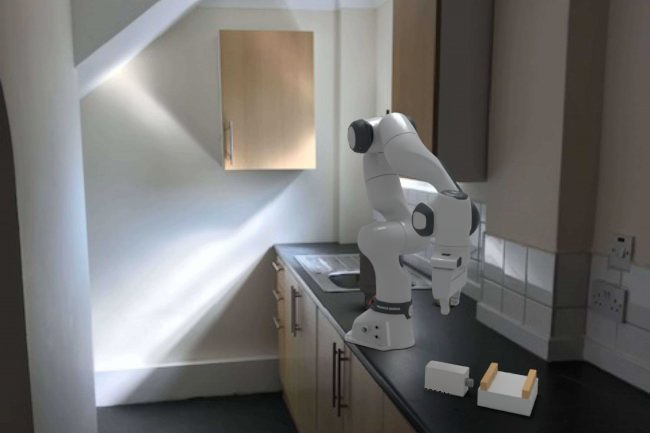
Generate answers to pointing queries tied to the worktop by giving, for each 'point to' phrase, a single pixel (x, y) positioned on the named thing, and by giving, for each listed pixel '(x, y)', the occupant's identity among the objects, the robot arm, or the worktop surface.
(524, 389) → the white tray with rails
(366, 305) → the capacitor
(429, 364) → the white block with knob
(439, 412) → the worktop surface
